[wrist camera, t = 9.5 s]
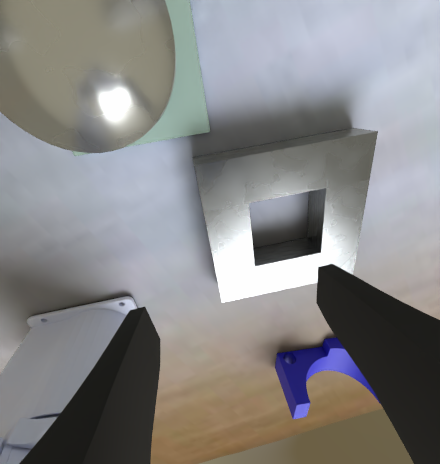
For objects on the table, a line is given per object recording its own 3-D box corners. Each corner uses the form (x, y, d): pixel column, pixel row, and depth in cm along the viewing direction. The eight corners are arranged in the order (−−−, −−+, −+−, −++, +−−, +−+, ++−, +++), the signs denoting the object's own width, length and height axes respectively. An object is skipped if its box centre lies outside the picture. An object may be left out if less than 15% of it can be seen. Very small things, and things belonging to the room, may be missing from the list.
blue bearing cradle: (367, 331, 30) (405, 379, 25) (358, 353, 32) (391, 401, 27) (277, 344, 29) (298, 397, 24) (274, 366, 31) (293, 419, 26)
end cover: (107, 136, 15) (27, 170, 7) (62, 27, 12) (-138, -98, 5) (189, 117, 15) (196, 131, 7) (163, 5, 12) (131, -153, 5)
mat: (76, 155, 16) (74, 156, 15) (-9, -38, 11) (-15, -43, 11) (209, 131, 16) (210, 131, 16) (178, -64, 12) (178, -70, 11)
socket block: (218, 283, 23) (221, 302, 20) (192, 157, 17) (193, 165, 14) (337, 258, 23) (353, 274, 21) (353, 128, 17) (377, 131, 15)
